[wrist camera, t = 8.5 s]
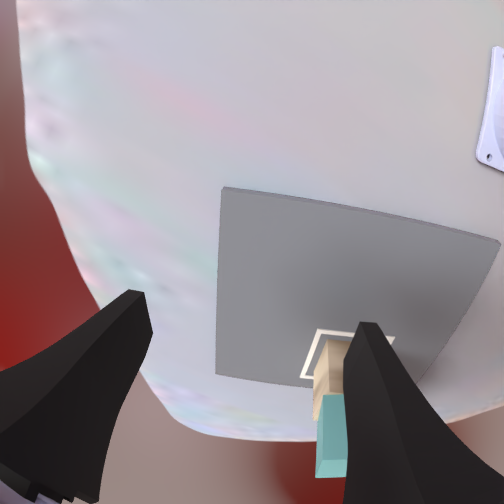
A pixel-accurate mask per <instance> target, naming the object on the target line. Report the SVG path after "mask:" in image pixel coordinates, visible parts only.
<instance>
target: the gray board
mask: <svg viewBox="0 0 504 504" xmlns="http://www.w3.org/2000/svg"><path fill="white" fill-rule="evenodd" d="M500 246H501V244H500V243H499V241H498V240H494V239H491V238H487V237H484V236H480V235H476V234H472V233H469V232H465V231H461V230H457V229H453V228H449V227H445V226H441V225H436V224H432V223H428V222H424V221H419V220H415V219H410V218H406V217H401V216H396V215H392V214H387V213H382V212H377V211H372V210H367V209H362V208H357V207H351V206H346V205H341V204H335V203H329V202H324V201H318V200H312V199H306V198H300V197H293V196H287V195H280V194H274V193H267V192H260V191H252V190H245V189H237V188H229V187H223V189H222V190H221V208H220V228H219V250H218V277H217V310H216V372H215V374H218V375H223V376H228V377H234V378H240V379H246V380H252V381H258V382H265V383H272V384H279V385H287V386H296V387H305V388H313V385H314V370H315V367H316V365H317V363H318V360H319V358H320V355H321V353H322V351H323V348H324V346H325V343H326V341H327V339H331V340H340V341H350V342H351V341H352V339H353V337H354V334H355V332H356V329H357V327H358V325H359V322H360V321H362V322H374V323H377V324H378V325H379V327H380V328H381V330H382V332H383V333H384V335H385V336H386V338H387V340H388V341H389V343H390V345H391V346H392V348H393V350H394V351H395V353H396V354H397V356H398V358H399V359H400V361H401V363H402V364H403V366H404V367H405V369H406V370H407V372H408V373H409V375H410V377H411V378H412V380H413V381H414V383H415V384H416V383H417V382H418V381H419V379H420V378H421V377H422V376H423V374H424V373H425V372H426V370H427V369H428V368H429V366H430V365H431V364H432V362H433V361H434V360H435V358H436V357H437V356H438V354H439V353H440V351H441V350H442V349H443V347H444V346H445V344H446V343H447V341H448V340H449V338H450V337H451V335H452V334H453V332H454V331H455V329H456V328H457V326H458V325H459V323H460V321H461V320H462V318H463V317H464V315H465V313H466V312H467V310H468V308H469V307H470V305H471V303H472V301H473V300H474V298H475V296H476V294H477V292H478V291H479V289H480V287H481V285H482V283H483V281H484V279H485V278H486V276H487V274H488V272H489V270H490V268H491V266H492V263H493V261H494V259H495V257H496V255H497V253H498V251H499V248H500Z"/></svg>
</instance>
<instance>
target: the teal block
mask: <svg viewBox="0 0 504 504" xmlns="http://www.w3.org/2000/svg"><path fill="white" fill-rule="evenodd" d="M347 456H348V442H347V428H346V416H345V405H344V394H337V395H323V398H322V403H321V408H320V413H319V418H318V422H317V456H316V476H315V477H316V478H326V477H327V478H328V477H346V471H347Z"/></svg>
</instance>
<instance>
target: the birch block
mask: <svg viewBox="0 0 504 504" xmlns="http://www.w3.org/2000/svg"><path fill="white" fill-rule="evenodd" d="M350 344H351V342H350V341H340V340H331V339H327V341H326V343H325V346H324V348H323V351H322V353H321V355H320V358H319V360H318V363H317V365H316V367H315V370H314V385H313V420H317V421H318V418H319V413H320V408H321V403H322V398H323V395H337V394H343V360H344V358H345V355H346V353H347V351H348V348H349V346H350Z"/></svg>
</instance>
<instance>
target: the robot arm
mask: <svg viewBox="0 0 504 504" xmlns="http://www.w3.org/2000/svg"><path fill="white" fill-rule="evenodd" d="M503 55H504V49H503V48H501V47H499V46H495V47H493V49H492V58H491V69H490V78H489V86H488V93H487V100H486V106H485V112H484V117H483V122H482V127H481V132H480V136H479V141H478V145H477V149H476V158H477V160H479V161H480V162H482V163H484V164H486V165H489V166H491V167H493V168H496V169H498V170H500V171H503V172H504V57H503ZM488 154H489V159H488V160H487V155H488ZM152 335H153V331H152V326H151V322H150V318H149V313H148V309H147V304H146V299H145V294H144V292H140V291H135V290H130V289H128V290H127V291H126V292H124V293H123V294H121V295H120V296H119V297H117V298H116V299H115V300H113V301H112V302H111V303H109V304H108V305H107V306H106V307H104V308H103V309H102V310H100V311H99V312H98V313H96V314H95V315H94V316H92V317H91V318H90V319H89V320H87V321H86V322H85V323H83V324H82V325H81V326H79V327H78V328H76V329H75V330H73V331H72V332H71V333H69V334H68V335H66V336H65V337H63V338H62V339H61V340H59V341H58V342H56V343H55V344H53V345H51V346H50V347H48V348H47V349H45V350H43V351H41V352H40V353H38V354H36V355H35V356H33V357H31V358H29V359H27V360H25V361H23V362H21V363H19V364H17V365H15V366H12V367H11V368H8V369H6V370H3V371H1V372H0V504H61V503H62V500H63V499H65V500H67V501H69V502H71V503H72V502H73V500H74V497H77V498H79V499H81V500H83V501H85V502H87V503H89V504H93V503H96V502H98V501H99V492H100V486H101V479H102V473H103V468H104V463H105V459H106V454H107V450H108V446H109V443H110V439H111V435H112V432H113V429H114V426H115V422H116V419H117V416H118V414H119V411H120V409H121V406H122V404H123V402H124V400H125V398H126V396H127V394H128V392H129V389H130V387H131V385H132V383H133V381H134V379H135V377H136V375H137V373H138V371H139V369H140V367H141V365H142V363H143V360H144V358H145V356H146V353H147V350H148V347H149V344H150V341H151V338H152ZM343 394H344V405H345V416H346V428H347V442H348V456H347V471H346V482H345V491H344V498H343V504H504V477H503V476H502V475H501V474H499V473H498V472H496V471H495V470H494V469H492V468H491V467H490V466H488V465H487V464H486V463H485V462H483V461H482V460H481V459H480V458H479V457H478V456H477V455H476V454H474V453H473V452H472V451H471V450H470V449H469V448H468V447H467V446H466V445H465V444H464V443H463V442H462V441H461V440H460V439H459V438H458V437H457V436H456V435H455V434H454V433H453V432H452V431H451V430H450V429H449V427H448V426H447V425H446V424H445V423H444V421H443V420H442V419H441V418H440V416H439V415H438V414H437V413H436V412H435V410H434V409H433V408H432V407H431V405H430V404H429V403H428V401H427V400H426V399H425V397H424V396H423V394H422V393H421V391H420V390H419V389H418V387H417V386H416V384H415V383H414V381H413V380H412V378H411V377H410V375H409V373H408V372H407V370H406V369H405V367H404V366H403V364H402V363H401V361H400V359H399V358H398V356H397V354H396V353H395V351H394V350H393V348H392V346H391V345H390V343H389V341H388V340H387V338H386V336H385V335H384V333H383V332H382V330H381V328H380V327H379V325H378V324H377V323H374V322H362V321H360V322H359V325H358V327H357V329H356V332H355V334H354V337H353V339H352V341H351V344H350V346H349V348H348V351H347V353H346V355H345V358H344V360H343Z"/></svg>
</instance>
